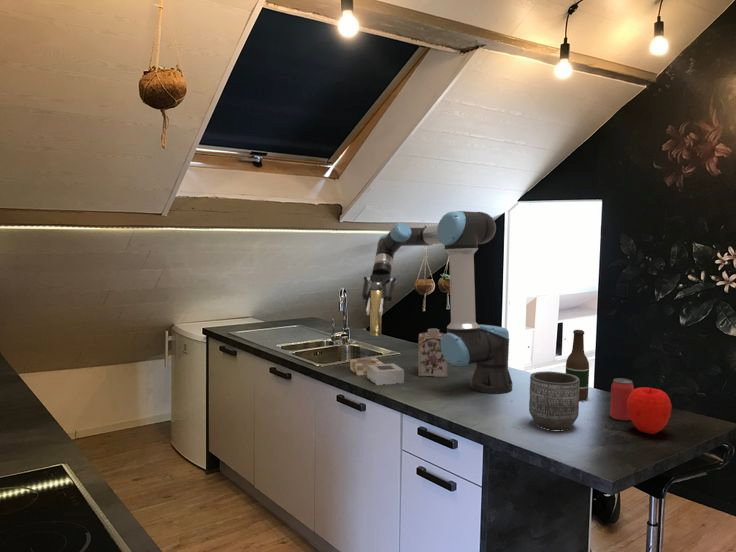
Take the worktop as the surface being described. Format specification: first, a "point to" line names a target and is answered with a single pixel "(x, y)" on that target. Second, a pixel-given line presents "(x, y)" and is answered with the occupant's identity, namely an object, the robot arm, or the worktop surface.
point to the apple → (649, 409)
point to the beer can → (620, 398)
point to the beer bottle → (579, 364)
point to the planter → (554, 399)
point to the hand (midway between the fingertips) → (374, 313)
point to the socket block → (385, 374)
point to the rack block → (363, 365)
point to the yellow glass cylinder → (375, 308)
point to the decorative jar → (431, 354)
